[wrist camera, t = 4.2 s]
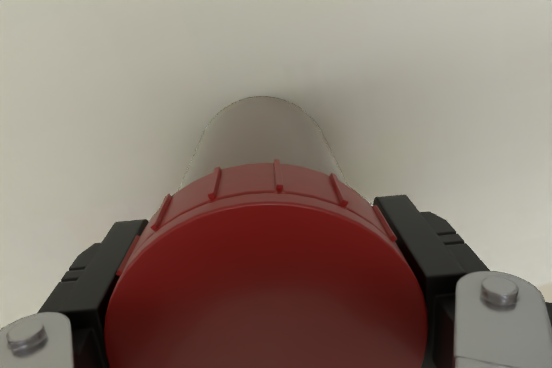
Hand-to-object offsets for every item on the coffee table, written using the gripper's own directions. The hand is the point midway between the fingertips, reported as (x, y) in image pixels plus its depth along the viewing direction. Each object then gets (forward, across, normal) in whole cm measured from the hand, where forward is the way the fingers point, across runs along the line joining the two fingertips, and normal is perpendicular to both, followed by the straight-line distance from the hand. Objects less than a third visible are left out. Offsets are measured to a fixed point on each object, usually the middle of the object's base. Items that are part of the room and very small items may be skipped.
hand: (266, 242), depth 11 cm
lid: (-3, 0, 0) cm, 3 cm away
